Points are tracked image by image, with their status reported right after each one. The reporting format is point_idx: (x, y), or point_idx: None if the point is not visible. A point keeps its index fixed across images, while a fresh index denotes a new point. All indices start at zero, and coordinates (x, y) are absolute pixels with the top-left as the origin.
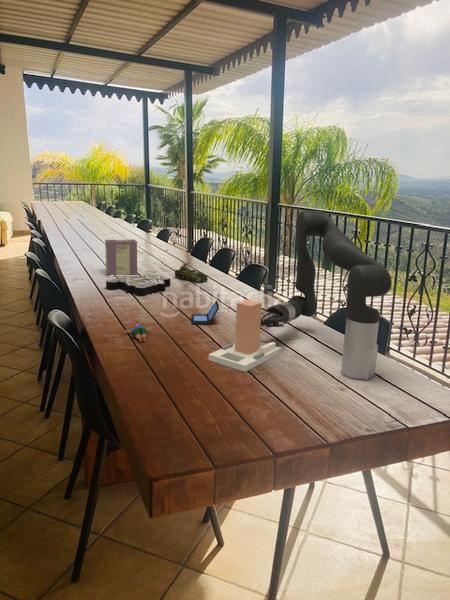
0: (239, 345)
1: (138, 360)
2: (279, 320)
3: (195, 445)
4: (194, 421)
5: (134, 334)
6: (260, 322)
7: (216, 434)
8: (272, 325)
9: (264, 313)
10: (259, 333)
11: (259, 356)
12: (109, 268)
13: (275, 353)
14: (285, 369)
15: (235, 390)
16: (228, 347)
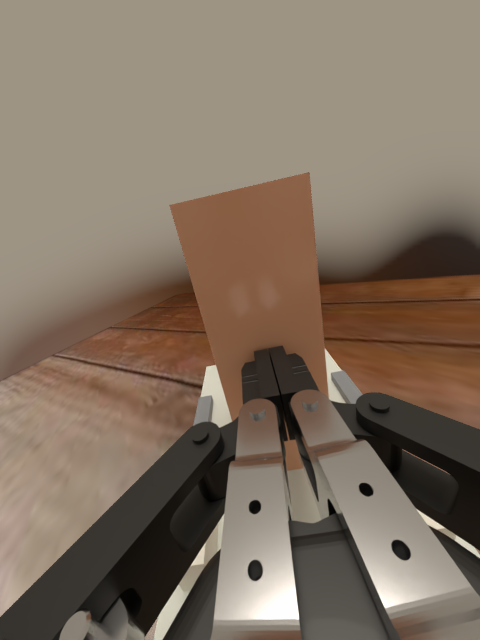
0: None
1: (384, 297)
2: (64, 562)
3: (173, 305)
4: (192, 309)
5: None
6: (211, 348)
7: (164, 313)
8: (178, 514)
9: (464, 604)
10: (228, 403)
11: (197, 412)
12: None
13: None
14: (108, 469)
15: (187, 344)
16: (341, 392)
